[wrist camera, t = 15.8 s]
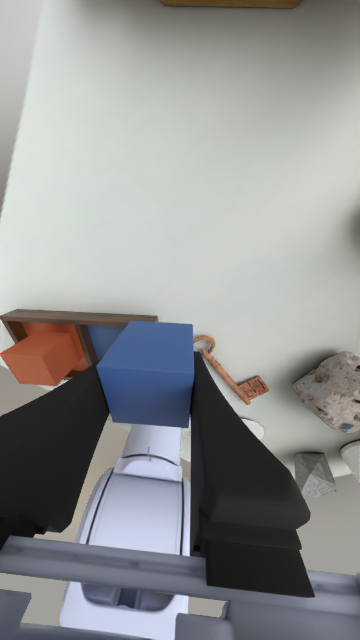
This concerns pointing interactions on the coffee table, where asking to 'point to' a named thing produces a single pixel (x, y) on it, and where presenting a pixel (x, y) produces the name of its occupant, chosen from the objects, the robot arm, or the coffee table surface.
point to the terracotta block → (42, 358)
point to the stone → (334, 391)
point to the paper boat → (313, 475)
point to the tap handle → (234, 3)
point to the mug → (352, 458)
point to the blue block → (150, 374)
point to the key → (237, 389)
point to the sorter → (73, 330)
